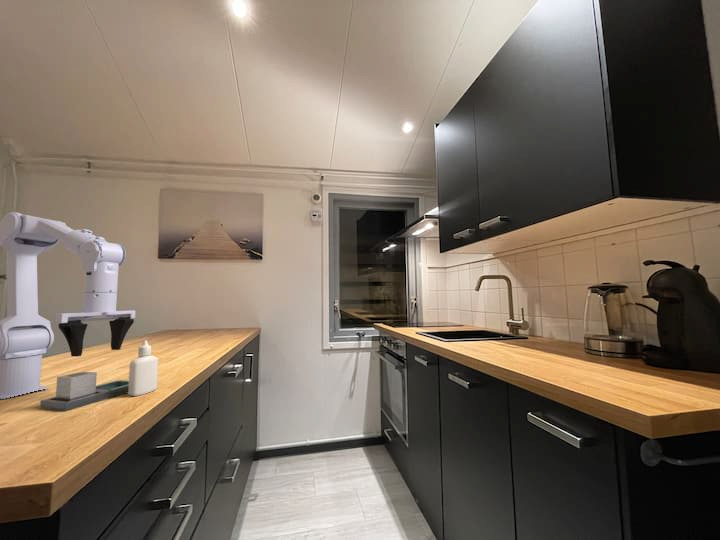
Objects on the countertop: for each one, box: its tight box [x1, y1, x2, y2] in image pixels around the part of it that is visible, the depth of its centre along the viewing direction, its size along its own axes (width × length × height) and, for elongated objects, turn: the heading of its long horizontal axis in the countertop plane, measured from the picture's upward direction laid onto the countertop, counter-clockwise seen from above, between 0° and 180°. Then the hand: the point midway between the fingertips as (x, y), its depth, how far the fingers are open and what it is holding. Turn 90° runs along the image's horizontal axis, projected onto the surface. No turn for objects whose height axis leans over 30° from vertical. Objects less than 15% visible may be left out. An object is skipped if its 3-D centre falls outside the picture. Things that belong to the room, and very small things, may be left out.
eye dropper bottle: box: [127, 340, 159, 397], centre depth 68 cm, size 4×6×12 cm
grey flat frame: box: [39, 379, 129, 412], centre depth 65 cm, size 8×15×2 cm, turn 163°
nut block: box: [55, 371, 98, 402], centre depth 62 cm, size 4×4×6 cm
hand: (97, 352), depth 65 cm, fingers open, 7 cm apart
